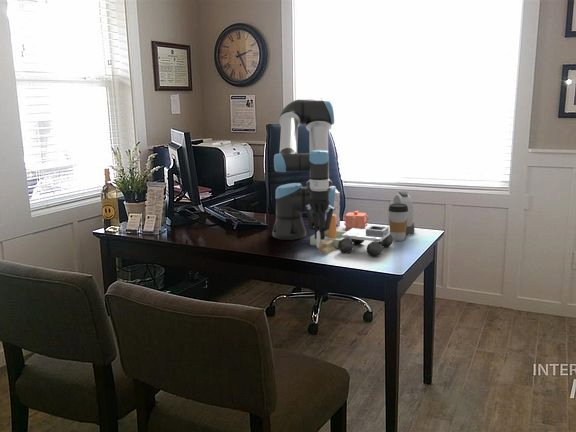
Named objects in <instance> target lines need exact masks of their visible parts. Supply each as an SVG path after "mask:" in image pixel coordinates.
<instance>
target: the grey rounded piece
mask: <svg viewBox="0 0 576 432" xmlns="http://www.w3.org/2000/svg"><path fill="white" fill-rule="evenodd" d="M392 201H393V202H392V204H395V203H400V204H406V205H407V207H408V214H407V227H406V235H408V234H410V235H414V234H415V223H414V222H413V220H414V205H413V199H412V197H411V195H410V194H409V193H408V192H407V191H398V193H396V194H395V195H394V197H393V200H392ZM406 235H405V236H406ZM408 236H409V235H408Z"/></svg>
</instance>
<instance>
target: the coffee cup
mask: <svg viewBox="0 0 576 432" xmlns="http://www.w3.org/2000/svg"><path fill="white" fill-rule="evenodd" d="M407 214H408V207H407V205H406V204H400V203H395V204H393V203H391V204H389V207H388V221H389V224H388V225H389V226H388V227H389V232H390V235H391V236H392V237H393V241H394V240H395V241H396V242H401V241H405V239H406V227H407Z"/></svg>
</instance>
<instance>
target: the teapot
mask: <svg viewBox="0 0 576 432" xmlns="http://www.w3.org/2000/svg"><path fill="white" fill-rule="evenodd" d="M342 219H343V221H344V222H343V223H344V224H343V225H344V226H345V230H348V231H349V230H350V229H352V228H358V229H366V228H367V226H368V223H367V222H368V221H369V215H367V213H366V212H359V210H356V211H353V212H347V213H346V214H344V215H343V216H342Z"/></svg>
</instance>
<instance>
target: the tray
mask: <svg viewBox="0 0 576 432" xmlns="http://www.w3.org/2000/svg"><path fill="white" fill-rule="evenodd" d="M346 232H347V231H346V230H345V231H344V230H336V239H332V238H328V230H327V231H325V238H324V239H323V240H333V241H334V249H339V248H338V243H339V241H341V240H342V239H344V238H342V234H344V233H346ZM309 239H310V240H309V244H310V246H316V247H317V239H315V233H314V234H313V235H311V236H309ZM348 239H350V238H348ZM350 240H351V239H350Z"/></svg>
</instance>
